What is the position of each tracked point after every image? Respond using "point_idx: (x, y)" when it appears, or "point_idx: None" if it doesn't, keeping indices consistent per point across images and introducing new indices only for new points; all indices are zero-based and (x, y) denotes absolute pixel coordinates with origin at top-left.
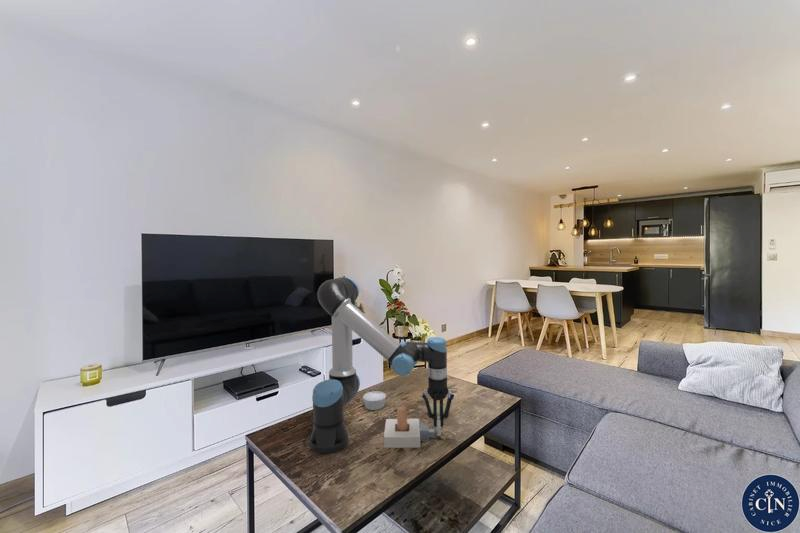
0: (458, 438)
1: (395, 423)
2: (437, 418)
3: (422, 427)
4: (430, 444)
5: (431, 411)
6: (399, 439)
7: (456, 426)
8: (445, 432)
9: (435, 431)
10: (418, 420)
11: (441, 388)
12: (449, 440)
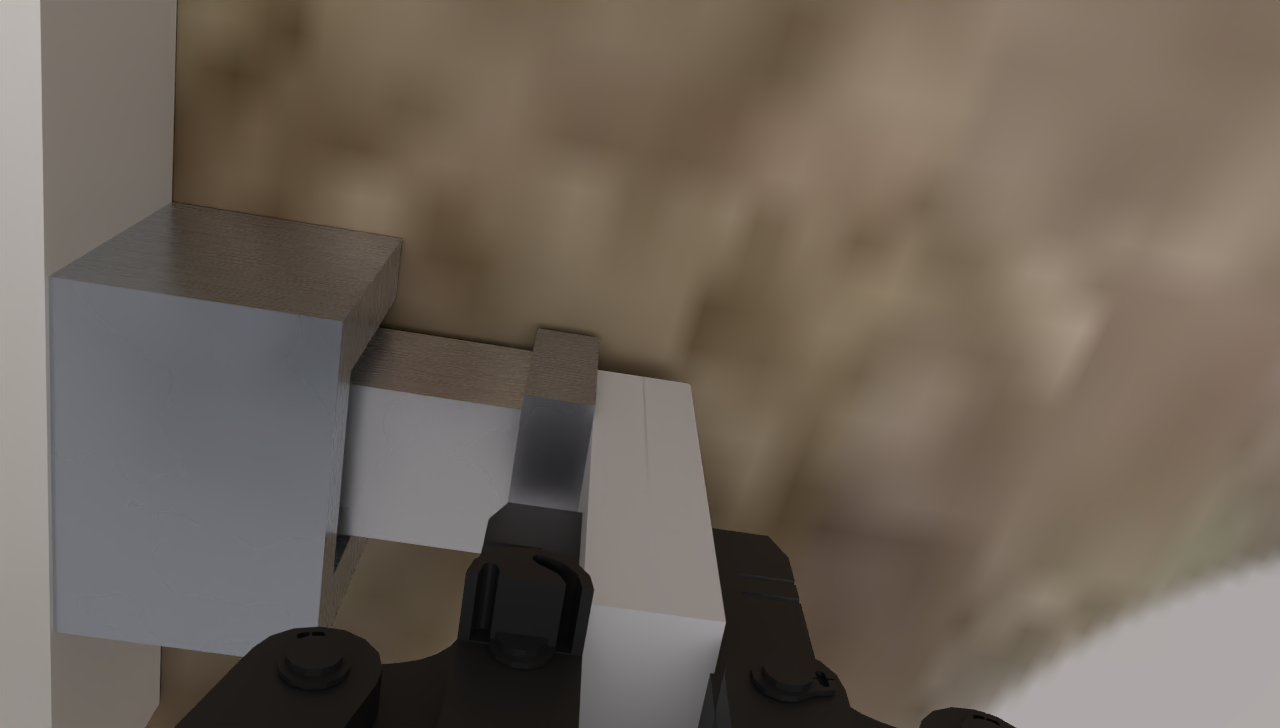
0: (1051, 541)
1: None
2: (596, 725)
3: (143, 481)
4: (386, 640)
5: None
6: None
7: (1261, 16)
8: (853, 255)
9: None
10: (18, 37)
11: None
12: (828, 576)
